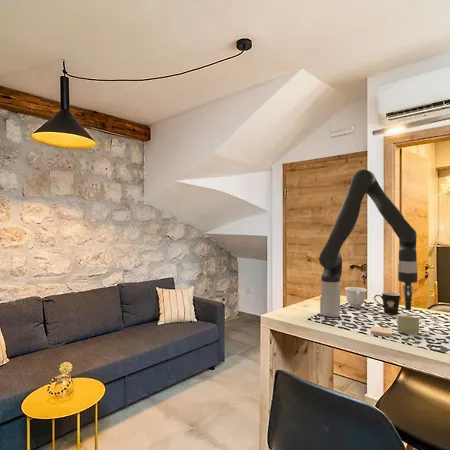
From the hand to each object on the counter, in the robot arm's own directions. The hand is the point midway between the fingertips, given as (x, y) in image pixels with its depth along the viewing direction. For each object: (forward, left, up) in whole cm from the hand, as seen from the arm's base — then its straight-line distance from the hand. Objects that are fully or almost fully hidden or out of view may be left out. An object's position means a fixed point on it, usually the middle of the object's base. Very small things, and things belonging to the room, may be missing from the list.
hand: (408, 309), depth 144 cm
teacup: (-24, +28, -8) cm, 38 cm away
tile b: (0, -7, -8) cm, 11 cm away
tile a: (-10, -10, -8) cm, 16 cm away
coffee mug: (-8, +25, -8) cm, 28 cm away
